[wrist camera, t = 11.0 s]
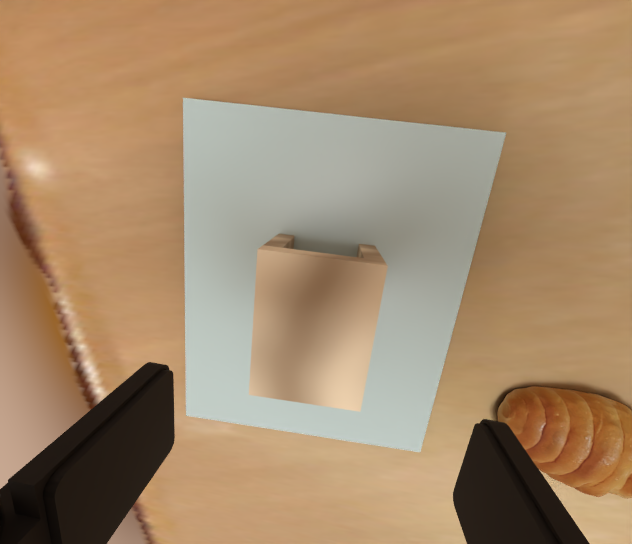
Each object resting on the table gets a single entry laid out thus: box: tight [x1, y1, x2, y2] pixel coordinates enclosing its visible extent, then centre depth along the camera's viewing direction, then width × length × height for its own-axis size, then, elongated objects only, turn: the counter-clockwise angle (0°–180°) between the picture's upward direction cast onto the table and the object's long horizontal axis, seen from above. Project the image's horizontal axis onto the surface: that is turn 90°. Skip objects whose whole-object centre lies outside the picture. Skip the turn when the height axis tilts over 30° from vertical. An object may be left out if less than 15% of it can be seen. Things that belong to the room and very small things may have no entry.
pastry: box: [497, 386, 632, 498], centre depth 20 cm, size 9×7×4 cm
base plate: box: [183, 98, 506, 452], centre depth 19 cm, size 18×22×4 cm
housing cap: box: [249, 234, 388, 412], centre depth 17 cm, size 6×8×5 cm
